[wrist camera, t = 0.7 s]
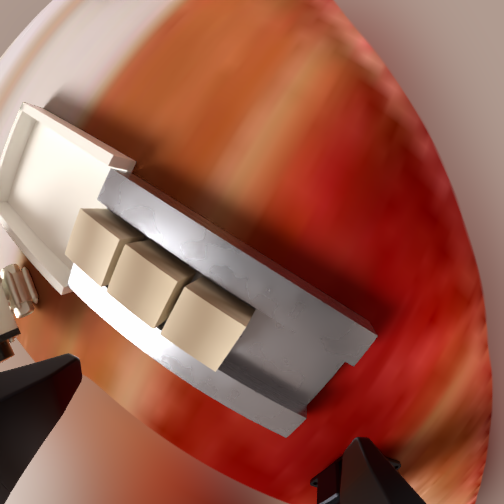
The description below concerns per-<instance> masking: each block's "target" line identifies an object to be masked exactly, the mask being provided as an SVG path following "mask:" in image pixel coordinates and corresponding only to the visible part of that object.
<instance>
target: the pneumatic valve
mask: <svg viewBox="0 0 504 504" xmlns="http://www.w3.org/2000/svg"><path fill="white" fill-rule="evenodd" d="M21 270H22V271H20V268H19V266H18V265H17V264H11V265H9V266H6V267H5V268H3V269H2V271H1V276H2V279H1V278H0V363H2V362H4V361H6V360H7V359H9V358H10V357H13V356H14V352H13V350H12V348H11V346H10V344H9V342H10V343H11V342H13V341H14V338H16V337H17V336H18V335H19V334H21V333H20V331H19V329H18V326H17V324H16V322H15V319H14V317H13V314H14V312H15V315H16V317H17V318H22V317H25V316H27V315H29V314H31V313H32V312H34V309H35V308H34V306H33V303H32V302H34V303H35V304H36V303H38V297H39V296H38V294H37V291H36V289H35V286H34V284H33V281H32V278H31V276H30V273H29V270H28V269H26V267H23V268H22V269H21ZM13 311H14V312H13Z"/></svg>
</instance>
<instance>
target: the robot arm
mask: <svg viewBox="0 0 504 504" xmlns="http://www.w3.org/2000/svg"><path fill="white" fill-rule="evenodd" d="M81 380H82V371H81V364H80V360H79V358H78V357H76V356H74V355H72V354H69V353H68V354H64V355H61V356H57V357H54V358H50V359H47V360H43V361H40V362H36V363H33V364H29V365H26V366H22V367H18V368H15V369H11V370H7V371H3V372H0V504H4V503H5V502H6V500H7V498H8V497H9V495H10V492H11V491H12V490H13V488H14V486H15V485H16V483H17V481H18V480H19V478H20V477H21V475H22V474H23V472H24V470H25V469H26V468H27V466H28V464H29V463H30V461H31V460H32V458H33V457H34V455H35V454H36V452H37V451H38V449H39V448H40V446H41V445H42V443H43V442H44V441H45V439H46V438H47V436H48V435H49V433H50V432H51V431H52V429H53V428H54V426H55V425H56V423H57V422H58V421H59V419H60V418H61V416H62V415H63V413H64V411H65V410H66V408H67V406H68V404H69V402H70V400H71V399H72V397H73V395H74V393H75V392H76V390H77V388H78V386H79V384H80V383H81ZM400 467H401V464H400V462H399V461H396V460H393V459H390V458H387V457H385V456H384V455H383V454H382V453H381V452H380V451H379V449H378V448H377V447H376V446H375V445H374V444H373V442H372V441H371V440H370V439H369V438H367V437H356V438H355V439H354V440H353V441H352V443H351V444H350V445H349V446H348V448H347V449H346V450H345V452H344V454H343V456H341V457H340V458H339V459H338V460H336V461H335V462H334V463H333V464H331V465H330V466H329V467H327V468H326V469H325V470H324V471H322V472H321V473H319V474H318V475H317V476H315V477H314V478H313V479H311V480H310V485H311V486H314V487H317V504H426V503H425V502H424V501H423V499H422V498H421V497H420V496H419V495H418V494H417V493H416V492H415V491H414V489H413V488H412V487H411V486H410V485H409V484H408V483H407V482H406V480H405V479H404V478H403V477H402V476H401V475H400V474H399V472H398V471H397V470H398V469H399V468H400Z"/></svg>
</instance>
